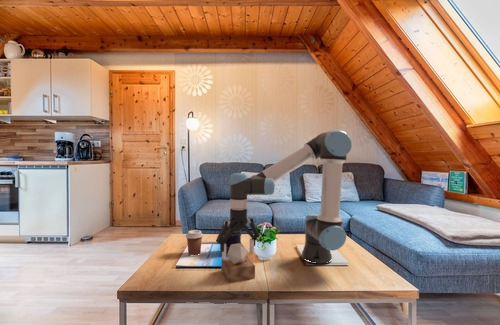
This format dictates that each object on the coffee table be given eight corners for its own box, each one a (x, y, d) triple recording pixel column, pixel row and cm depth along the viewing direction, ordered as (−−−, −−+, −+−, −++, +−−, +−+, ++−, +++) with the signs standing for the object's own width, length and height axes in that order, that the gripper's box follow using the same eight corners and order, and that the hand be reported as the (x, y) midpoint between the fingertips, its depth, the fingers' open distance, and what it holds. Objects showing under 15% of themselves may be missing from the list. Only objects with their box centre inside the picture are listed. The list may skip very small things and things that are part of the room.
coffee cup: (182, 253, 144) (182, 231, 143) (197, 249, 150) (197, 228, 149) (190, 258, 137) (190, 235, 136) (206, 254, 143) (206, 232, 142)
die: (245, 268, 114) (253, 246, 118) (228, 259, 112) (236, 238, 116) (238, 268, 121) (245, 247, 125) (221, 260, 119) (229, 239, 123)
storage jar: (224, 256, 140) (224, 228, 140) (221, 250, 150) (222, 223, 149) (242, 254, 142) (243, 227, 142) (239, 248, 152) (239, 222, 152)
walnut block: (246, 268, 126) (246, 255, 126) (254, 279, 115) (255, 265, 115) (221, 271, 123) (221, 258, 122) (227, 283, 111) (227, 269, 111)
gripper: (258, 204, 127) (258, 248, 128) (208, 209, 116) (208, 257, 116) (267, 207, 121) (266, 254, 121) (215, 212, 109) (214, 264, 109)
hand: (238, 256), depth 119 cm, fingers open, 13 cm apart
